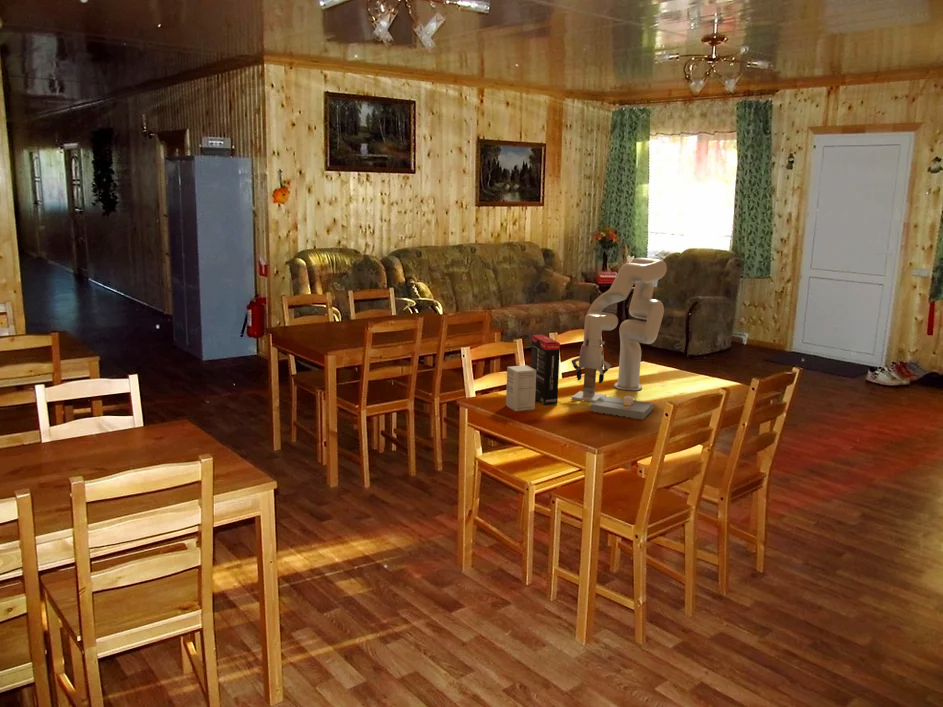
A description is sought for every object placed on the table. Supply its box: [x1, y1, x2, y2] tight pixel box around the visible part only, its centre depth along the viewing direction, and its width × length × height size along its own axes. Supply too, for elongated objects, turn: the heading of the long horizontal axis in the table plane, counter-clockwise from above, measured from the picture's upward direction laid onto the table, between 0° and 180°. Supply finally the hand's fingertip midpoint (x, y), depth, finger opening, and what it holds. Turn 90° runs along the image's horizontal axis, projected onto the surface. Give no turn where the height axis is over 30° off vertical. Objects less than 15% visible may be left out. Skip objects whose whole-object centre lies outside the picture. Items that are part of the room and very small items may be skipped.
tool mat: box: [570, 390, 607, 403], centre depth 351 cm, size 12×12×1 cm
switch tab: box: [623, 395, 634, 406], centre depth 331 cm, size 4×3×3 cm
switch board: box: [589, 395, 654, 421], centre depth 332 cm, size 16×22×3 cm
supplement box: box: [505, 364, 536, 412], centre depth 331 cm, size 10×9×17 cm
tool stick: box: [583, 367, 597, 398], centre depth 349 cm, size 4×4×14 cm
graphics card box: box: [530, 334, 561, 406], centre depth 342 cm, size 17×7×27 cm, turn 18°
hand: (589, 381), depth 349 cm, fingers open, 9 cm apart
